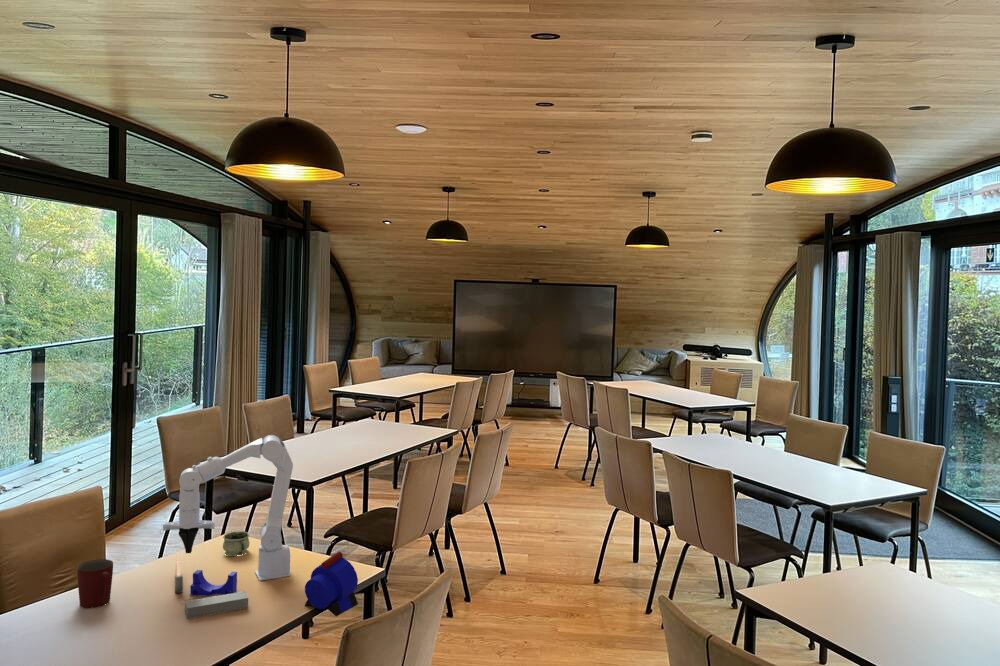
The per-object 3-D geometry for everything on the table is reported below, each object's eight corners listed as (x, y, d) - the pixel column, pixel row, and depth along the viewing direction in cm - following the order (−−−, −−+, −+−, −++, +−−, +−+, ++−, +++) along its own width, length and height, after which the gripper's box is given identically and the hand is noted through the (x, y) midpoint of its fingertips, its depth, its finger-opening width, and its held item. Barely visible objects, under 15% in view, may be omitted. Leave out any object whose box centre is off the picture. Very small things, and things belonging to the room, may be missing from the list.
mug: (123, 605, 203) (124, 567, 203) (90, 616, 196) (91, 576, 196) (103, 593, 211) (104, 556, 210) (71, 603, 203) (71, 565, 203)
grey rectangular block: (244, 601, 210) (244, 590, 209) (248, 608, 205) (248, 597, 205) (184, 611, 202) (184, 600, 201) (187, 618, 197) (187, 608, 197)
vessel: (257, 554, 247) (257, 536, 246) (233, 561, 240) (234, 542, 240) (238, 545, 254) (238, 528, 254) (214, 551, 247) (215, 533, 247)
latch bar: (174, 573, 227) (174, 559, 226) (181, 572, 228) (181, 558, 227) (175, 593, 212) (175, 578, 212) (182, 592, 213) (182, 577, 213)
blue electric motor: (359, 603, 211) (361, 553, 210) (331, 619, 200) (332, 566, 200) (327, 594, 217) (329, 545, 216) (298, 609, 206) (299, 557, 205)
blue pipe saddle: (190, 595, 212) (190, 575, 212) (197, 589, 217) (197, 569, 217) (230, 597, 212) (231, 577, 212) (236, 591, 217) (237, 571, 216)
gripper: (160, 513, 215) (160, 557, 215) (212, 511, 218) (211, 555, 219) (166, 506, 221) (165, 549, 222) (216, 504, 225) (215, 547, 226)
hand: (188, 552), depth 221 cm, fingers closed
